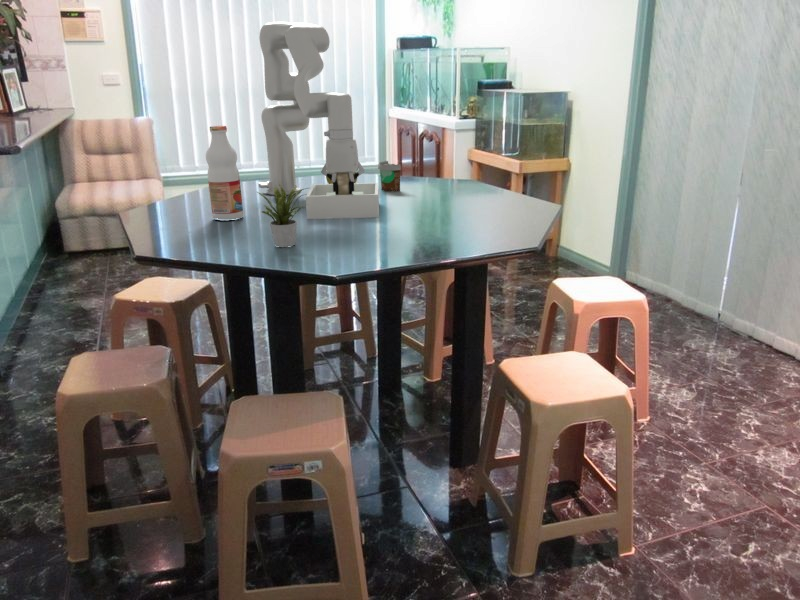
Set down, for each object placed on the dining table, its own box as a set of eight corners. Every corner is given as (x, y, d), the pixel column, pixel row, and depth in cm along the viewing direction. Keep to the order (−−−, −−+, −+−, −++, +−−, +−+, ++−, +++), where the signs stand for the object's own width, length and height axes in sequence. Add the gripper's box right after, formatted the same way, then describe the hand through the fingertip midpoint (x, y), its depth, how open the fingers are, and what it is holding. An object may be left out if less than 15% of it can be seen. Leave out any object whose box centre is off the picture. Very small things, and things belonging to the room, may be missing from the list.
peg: (337, 201, 207) (335, 170, 203) (338, 199, 210) (336, 168, 207) (350, 201, 207) (348, 169, 203) (350, 199, 210) (349, 167, 207)
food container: (373, 188, 249) (372, 161, 246) (388, 186, 251) (387, 160, 248) (386, 193, 238) (385, 165, 235) (401, 191, 241) (401, 164, 237)
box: (307, 219, 199) (305, 196, 197) (314, 205, 220) (312, 184, 217) (378, 217, 199) (378, 194, 197) (379, 203, 220) (378, 182, 218)
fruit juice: (211, 217, 205) (200, 125, 196) (241, 214, 208) (232, 124, 199) (214, 223, 197) (202, 128, 187) (245, 220, 200) (236, 126, 190)
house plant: (328, 244, 169) (324, 181, 164) (286, 256, 160) (280, 189, 154) (293, 236, 178) (288, 177, 173) (251, 247, 169) (245, 184, 163)
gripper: (312, 137, 198) (316, 196, 204) (367, 135, 198) (369, 195, 204) (315, 134, 205) (318, 192, 211) (368, 133, 205) (370, 191, 212)
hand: (343, 193), depth 208 cm, fingers closed on peg, 3 cm apart
